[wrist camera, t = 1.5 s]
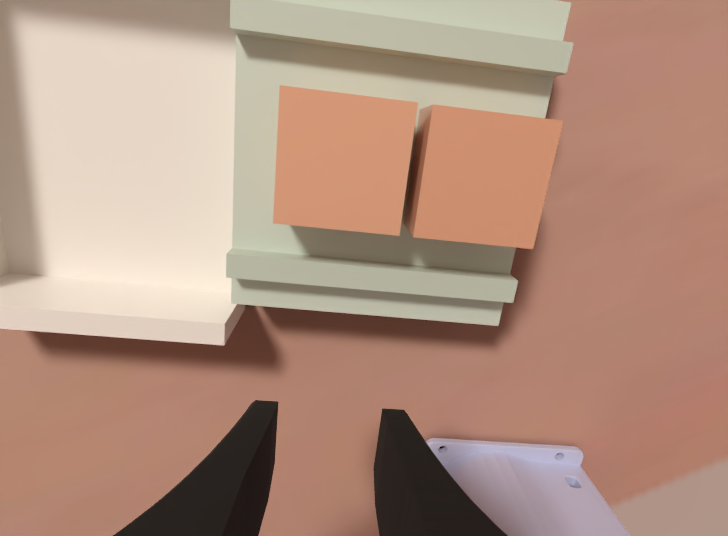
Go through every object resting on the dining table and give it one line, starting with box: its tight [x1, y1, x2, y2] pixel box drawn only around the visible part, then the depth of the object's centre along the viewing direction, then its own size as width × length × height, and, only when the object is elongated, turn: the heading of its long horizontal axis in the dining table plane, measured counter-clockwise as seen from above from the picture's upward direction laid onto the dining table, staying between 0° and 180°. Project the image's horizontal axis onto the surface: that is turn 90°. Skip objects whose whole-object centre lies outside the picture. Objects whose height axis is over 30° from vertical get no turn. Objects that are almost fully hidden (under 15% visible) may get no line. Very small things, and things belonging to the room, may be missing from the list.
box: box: [0, 0, 246, 345], centre depth 17 cm, size 12×16×4 cm
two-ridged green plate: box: [226, 0, 574, 326], centre depth 18 cm, size 12×13×4 cm
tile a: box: [404, 104, 563, 249], centre depth 16 cm, size 4×4×2 cm
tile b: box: [273, 85, 418, 236], centre depth 15 cm, size 4×4×2 cm
